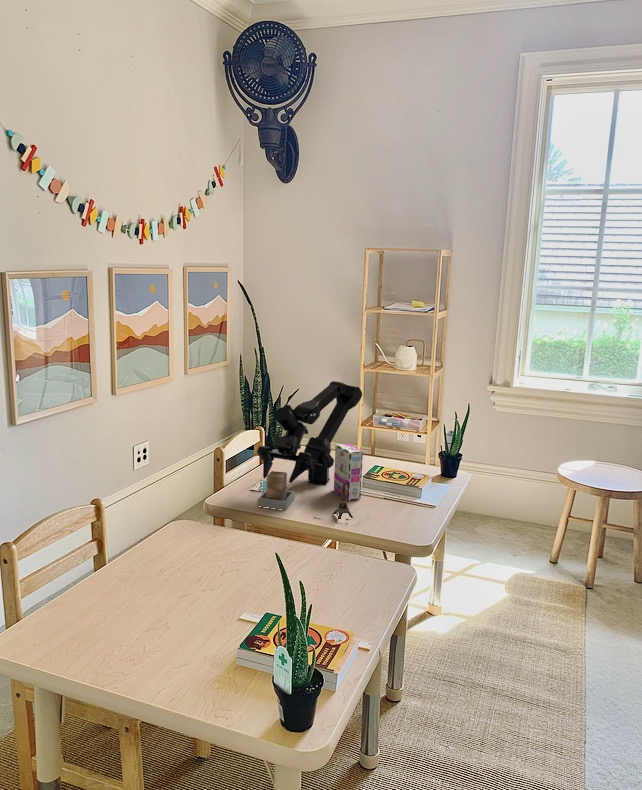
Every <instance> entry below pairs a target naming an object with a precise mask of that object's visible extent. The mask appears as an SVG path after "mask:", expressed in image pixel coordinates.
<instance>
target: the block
mask: <svg viewBox="0 0 642 790" xmlns="http://www.w3.org/2000/svg"><path fill="white" fill-rule="evenodd" d="M270 471H271V472H270ZM270 471H269V473H268V475H267V477H266V481H267V499H274V500H283V501H286V492H287V491H288V490H287V486H288V482H287V480H288V477H287V476H288V474H287V473H288V472H284V471H276V470H275V471H274V470H270Z"/></svg>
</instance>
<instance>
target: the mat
mask: <svg viewBox="0 0 642 790" xmlns="http://www.w3.org/2000/svg"><path fill="white" fill-rule="evenodd" d="M262 480H263V483H262V482H260V487H259V489H258V490H259V491H261V490H262V491H266V490H267V480H265V479H262ZM262 484H263V485H262ZM254 485H256V483H255V484H254ZM256 487H257V486H256ZM261 487H263V488H261ZM260 488H261V489H260Z"/></svg>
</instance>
